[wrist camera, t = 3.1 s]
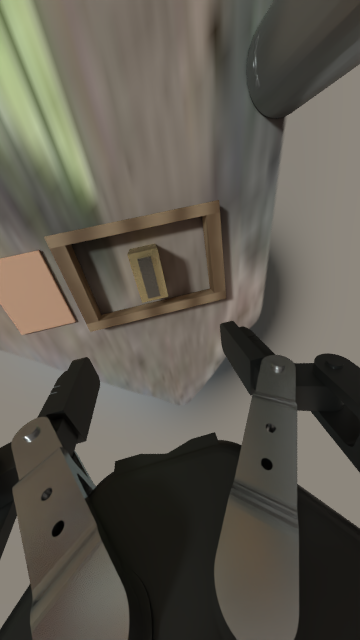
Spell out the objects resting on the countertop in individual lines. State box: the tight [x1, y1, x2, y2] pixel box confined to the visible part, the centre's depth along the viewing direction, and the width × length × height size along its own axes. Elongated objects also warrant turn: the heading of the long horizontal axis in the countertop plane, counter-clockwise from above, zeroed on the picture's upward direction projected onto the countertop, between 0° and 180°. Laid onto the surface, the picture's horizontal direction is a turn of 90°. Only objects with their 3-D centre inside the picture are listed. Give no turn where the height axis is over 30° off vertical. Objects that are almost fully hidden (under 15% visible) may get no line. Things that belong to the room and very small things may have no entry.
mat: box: [0, 250, 76, 335], centre depth 30 cm, size 9×12×1 cm
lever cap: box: [128, 244, 168, 303], centre depth 29 cm, size 4×7×6 cm, turn 11°
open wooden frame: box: [44, 200, 226, 332], centre depth 31 cm, size 24×15×2 cm, turn 101°
